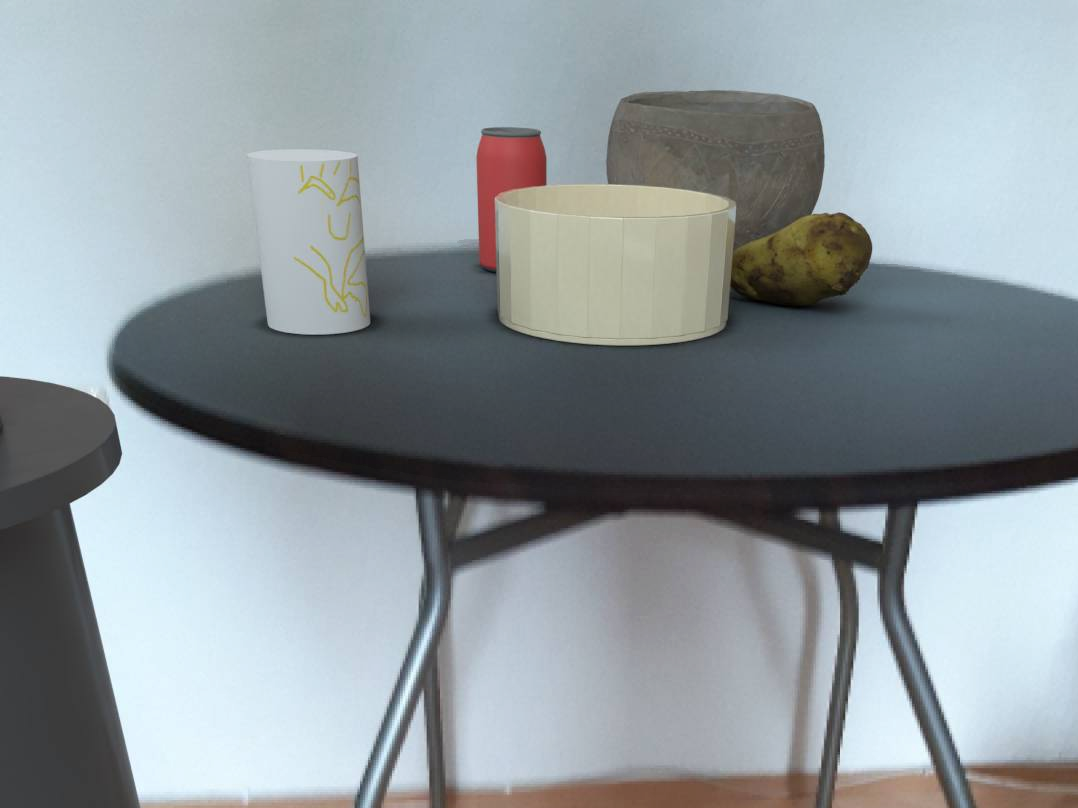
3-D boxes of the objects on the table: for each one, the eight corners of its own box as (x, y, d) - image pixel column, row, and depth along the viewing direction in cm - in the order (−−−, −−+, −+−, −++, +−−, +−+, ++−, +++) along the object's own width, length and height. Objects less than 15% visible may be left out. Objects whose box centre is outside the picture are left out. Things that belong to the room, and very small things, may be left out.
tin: (599, 357, 89) (602, 225, 84) (453, 311, 101) (448, 193, 96) (774, 325, 100) (786, 206, 95) (623, 286, 112) (626, 178, 107)
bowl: (755, 298, 108) (772, 108, 100) (564, 270, 117) (565, 93, 109) (843, 265, 123) (864, 97, 115) (668, 242, 132) (676, 85, 124)
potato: (785, 290, 112) (794, 195, 107) (878, 318, 103) (893, 216, 98) (713, 298, 108) (720, 200, 103) (803, 328, 99) (815, 222, 94)
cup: (322, 339, 92) (304, 163, 85) (246, 324, 95) (223, 154, 88) (391, 320, 97) (379, 155, 91) (316, 307, 101) (300, 146, 94)
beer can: (466, 267, 117) (461, 128, 111) (518, 260, 121) (516, 125, 114) (507, 278, 113) (505, 134, 107) (560, 270, 117) (561, 131, 110)
